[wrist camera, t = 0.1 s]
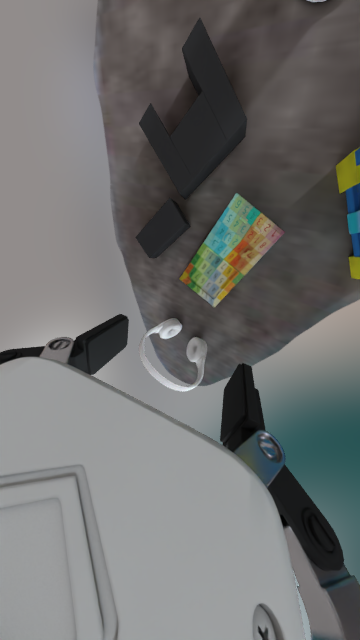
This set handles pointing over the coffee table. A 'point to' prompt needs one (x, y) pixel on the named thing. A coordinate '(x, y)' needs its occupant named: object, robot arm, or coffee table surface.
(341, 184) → the blue tall framed box
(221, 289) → the puzzle game
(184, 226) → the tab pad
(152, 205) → the coffee table surface
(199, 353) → the headphones
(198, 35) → the notch pad
